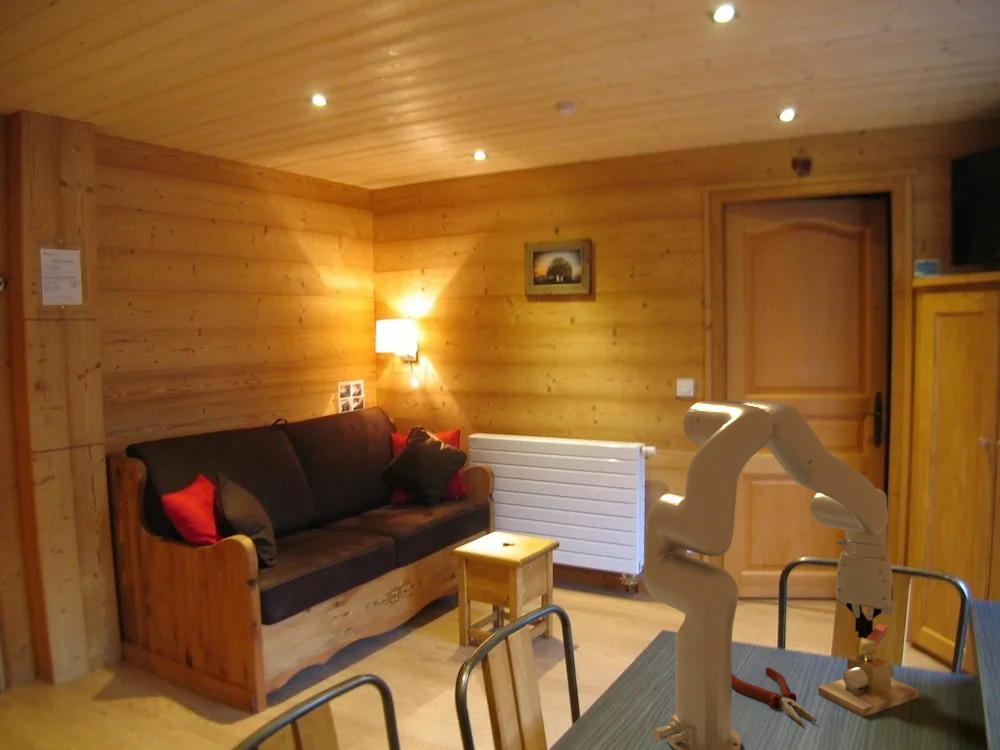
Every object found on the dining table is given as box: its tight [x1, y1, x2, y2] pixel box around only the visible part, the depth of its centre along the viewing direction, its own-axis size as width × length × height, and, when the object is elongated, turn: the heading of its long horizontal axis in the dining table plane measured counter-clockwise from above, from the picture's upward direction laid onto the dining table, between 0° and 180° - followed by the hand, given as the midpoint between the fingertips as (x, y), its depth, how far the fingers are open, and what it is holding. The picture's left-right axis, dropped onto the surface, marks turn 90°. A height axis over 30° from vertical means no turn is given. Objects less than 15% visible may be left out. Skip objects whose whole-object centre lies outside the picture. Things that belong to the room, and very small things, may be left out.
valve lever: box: [860, 623, 888, 655], centre depth 148 cm, size 12×3×2 cm, turn 140°
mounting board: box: [817, 677, 920, 718], centre depth 145 cm, size 16×10×2 cm, turn 116°
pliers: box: [732, 667, 817, 725], centre depth 144 cm, size 12×20×3 cm, turn 14°
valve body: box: [842, 652, 895, 697], centre depth 145 cm, size 10×6×7 cm, turn 116°
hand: (864, 636), depth 152 cm, fingers closed
